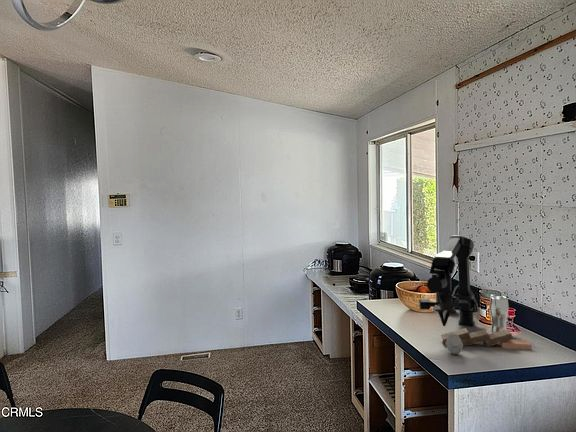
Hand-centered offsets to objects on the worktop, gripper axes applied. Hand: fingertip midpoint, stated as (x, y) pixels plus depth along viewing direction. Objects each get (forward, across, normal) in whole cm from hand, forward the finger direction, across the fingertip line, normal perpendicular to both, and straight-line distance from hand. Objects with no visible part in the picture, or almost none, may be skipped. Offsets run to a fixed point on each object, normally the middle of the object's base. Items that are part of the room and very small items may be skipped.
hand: (443, 325), depth 158 cm
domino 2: (+6, +7, 0) cm, 9 cm away
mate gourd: (+7, +11, +44) cm, 45 cm away
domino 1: (+6, 0, 0) cm, 6 cm away
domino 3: (+6, +15, 0) cm, 16 cm away
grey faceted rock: (+7, +2, -10) cm, 13 cm away
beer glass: (+7, +25, +16) cm, 30 cm away
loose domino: (+6, +21, 0) cm, 22 cm away
